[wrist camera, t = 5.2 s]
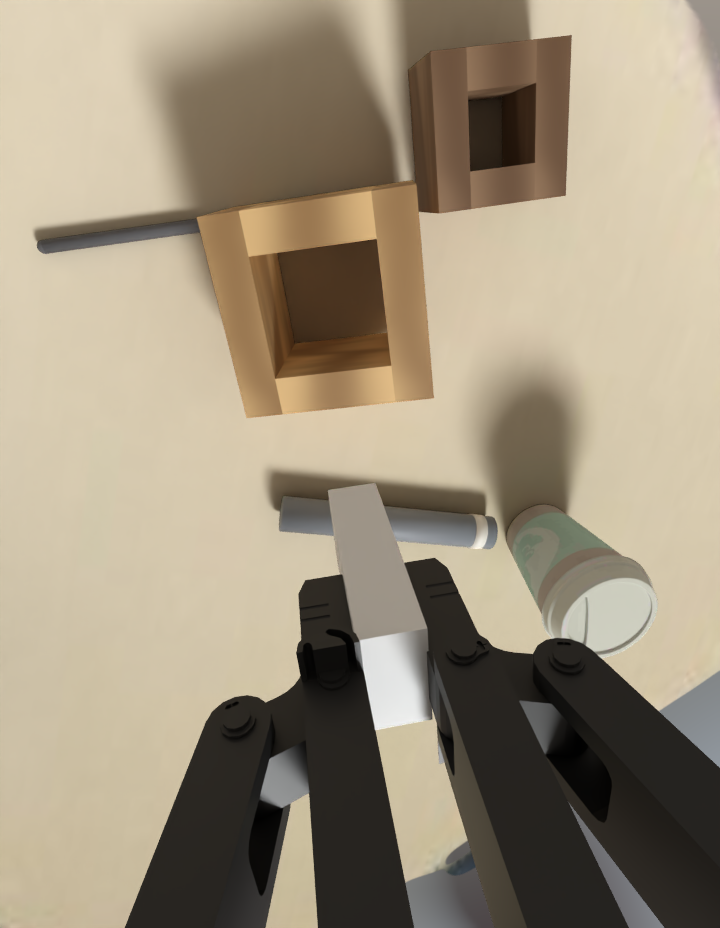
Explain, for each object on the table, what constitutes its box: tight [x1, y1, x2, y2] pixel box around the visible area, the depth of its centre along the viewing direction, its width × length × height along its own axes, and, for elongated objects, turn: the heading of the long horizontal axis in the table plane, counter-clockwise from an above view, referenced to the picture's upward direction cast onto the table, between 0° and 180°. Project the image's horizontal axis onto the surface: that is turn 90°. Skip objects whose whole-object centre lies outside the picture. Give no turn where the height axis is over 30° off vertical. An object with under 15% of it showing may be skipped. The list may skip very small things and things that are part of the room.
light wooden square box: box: [197, 180, 434, 418], centre depth 35 cm, size 12×12×8 cm
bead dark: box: [408, 35, 572, 213], centre depth 35 cm, size 8×8×5 cm
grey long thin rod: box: [37, 219, 200, 254], centre depth 36 cm, size 17×1×1 cm, turn 97°
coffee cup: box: [507, 505, 658, 658], centre depth 46 cm, size 9×8×12 cm
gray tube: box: [279, 496, 498, 549], centre depth 47 cm, size 3×3×18 cm
